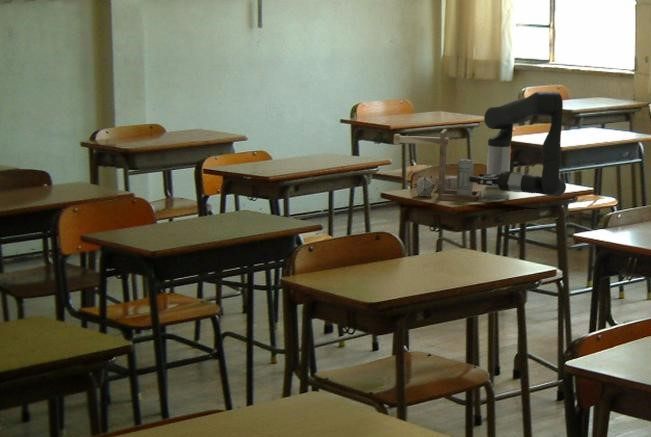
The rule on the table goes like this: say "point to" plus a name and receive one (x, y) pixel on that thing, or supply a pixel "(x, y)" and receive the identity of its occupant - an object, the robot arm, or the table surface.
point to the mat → (496, 196)
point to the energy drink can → (464, 177)
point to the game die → (424, 186)
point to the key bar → (418, 140)
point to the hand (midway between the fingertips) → (474, 177)
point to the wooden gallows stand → (442, 192)
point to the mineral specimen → (448, 183)
